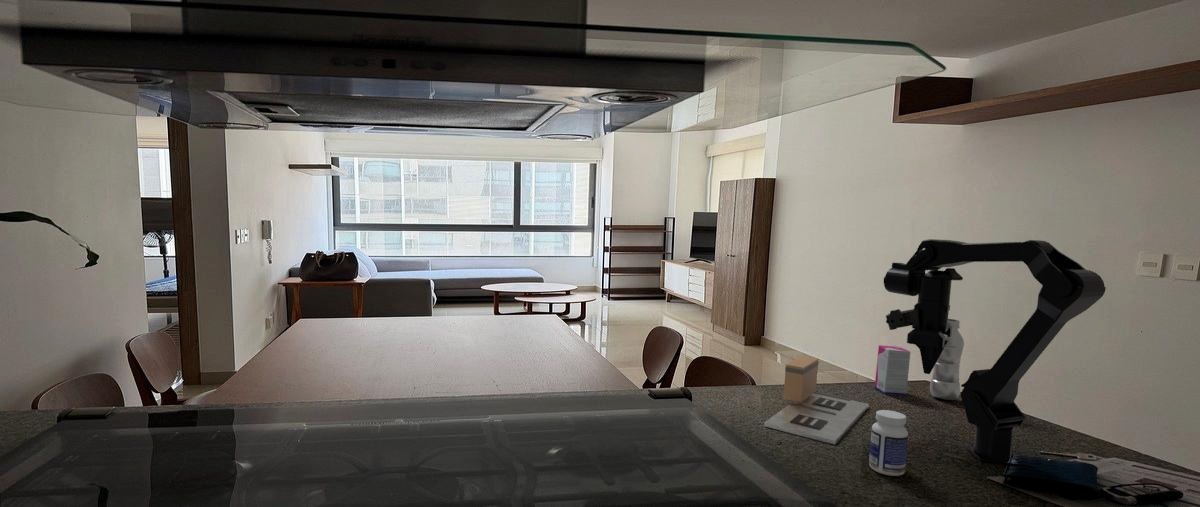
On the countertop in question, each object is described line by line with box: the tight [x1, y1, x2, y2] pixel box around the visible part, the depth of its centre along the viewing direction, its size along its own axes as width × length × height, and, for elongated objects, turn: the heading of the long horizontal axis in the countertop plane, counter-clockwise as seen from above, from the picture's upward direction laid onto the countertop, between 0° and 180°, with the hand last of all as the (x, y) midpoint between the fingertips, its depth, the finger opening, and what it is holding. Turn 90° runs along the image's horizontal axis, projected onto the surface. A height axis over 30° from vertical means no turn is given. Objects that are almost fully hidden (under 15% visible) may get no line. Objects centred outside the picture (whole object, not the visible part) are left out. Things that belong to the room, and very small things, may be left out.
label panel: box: [763, 391, 870, 446], centre depth 128 cm, size 14×30×1 cm, turn 144°
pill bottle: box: [868, 409, 909, 477], centre depth 101 cm, size 6×6×10 cm
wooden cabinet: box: [782, 355, 820, 402], centre depth 138 cm, size 4×12×8 cm, turn 144°
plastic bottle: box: [929, 318, 965, 401], centre depth 145 cm, size 6×7×20 cm
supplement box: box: [874, 344, 911, 396], centre depth 150 cm, size 6×6×12 cm
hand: (926, 373), depth 122 cm, fingers closed
